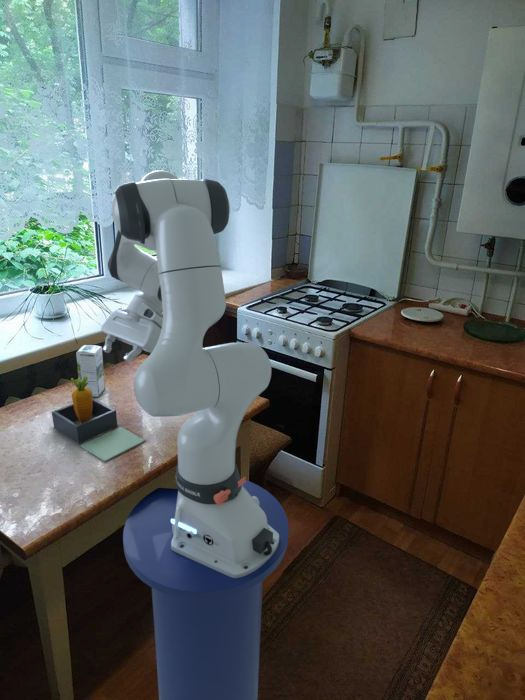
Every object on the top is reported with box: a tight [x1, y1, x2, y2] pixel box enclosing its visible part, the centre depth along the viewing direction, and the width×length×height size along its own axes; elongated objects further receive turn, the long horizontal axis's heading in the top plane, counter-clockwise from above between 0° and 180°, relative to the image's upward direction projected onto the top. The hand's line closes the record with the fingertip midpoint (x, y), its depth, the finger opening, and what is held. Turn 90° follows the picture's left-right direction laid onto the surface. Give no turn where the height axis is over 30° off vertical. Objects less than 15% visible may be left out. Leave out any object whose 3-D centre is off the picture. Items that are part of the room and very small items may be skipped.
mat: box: [80, 426, 146, 463], centre depth 125 cm, size 10×12×1 cm
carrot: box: [70, 376, 93, 424], centre depth 129 cm, size 5×5×15 cm
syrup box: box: [75, 344, 106, 398], centre depth 148 cm, size 6×6×14 cm
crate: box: [51, 397, 118, 445], centre depth 131 cm, size 12×12×5 cm
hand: (115, 356), depth 134 cm, fingers open, 8 cm apart
